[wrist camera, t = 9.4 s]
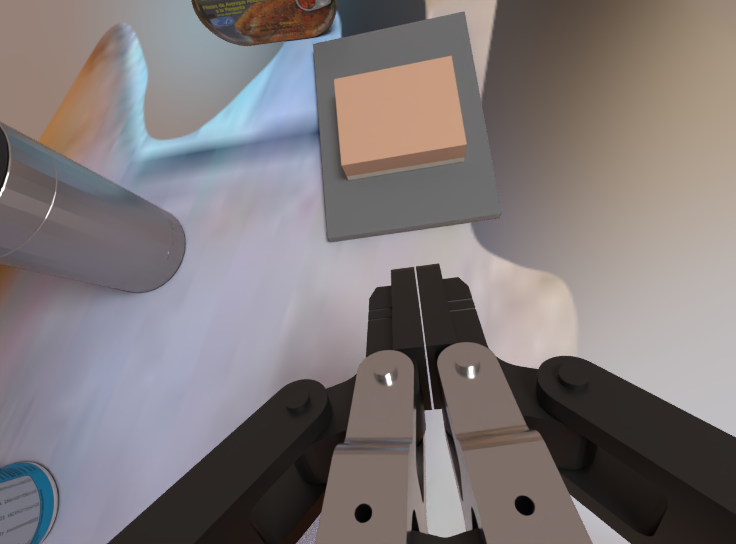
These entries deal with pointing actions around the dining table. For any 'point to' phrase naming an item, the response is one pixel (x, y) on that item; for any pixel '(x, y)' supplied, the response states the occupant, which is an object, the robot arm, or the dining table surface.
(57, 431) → the dining table surface
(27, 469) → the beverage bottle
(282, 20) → the tin
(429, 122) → the tile
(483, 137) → the slate board
